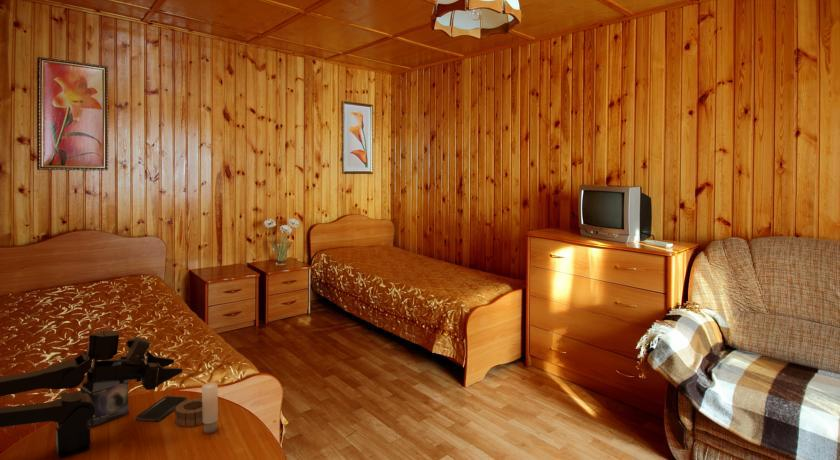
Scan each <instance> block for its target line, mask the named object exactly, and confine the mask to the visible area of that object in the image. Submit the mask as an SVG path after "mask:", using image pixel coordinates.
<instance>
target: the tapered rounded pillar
mask: <svg viewBox="0 0 840 460" xmlns="http://www.w3.org/2000/svg"><path fill="white" fill-rule="evenodd" d="M218 389H219V388H218V383H215V382H209V383H208V382H207V383H204V384H202V386H201V399H202V422H203V423H204V424H203V432H204V433H205V434H213V433H215V432H216V431H217V430H218V429H217V426H218V425H217V421H218V420H219V403H218V402H219V400H218V399H219V398H218V397H219V396H218V391H219V390H218Z"/></svg>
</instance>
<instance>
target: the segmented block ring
mask: <svg viewBox="0 0 840 460" xmlns="http://www.w3.org/2000/svg"><path fill="white" fill-rule="evenodd" d="M174 412H175V424H176V425H177V426H179V427H184V428H185V427H186V428H189V427H195V426H196V427H197V426H200V425H204V423H203V422H202V397H201V398H192V399H187V401H184V402H182V403H180V404H178V405H177V406H176V408H175V411H174Z"/></svg>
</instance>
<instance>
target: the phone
mask: <svg viewBox="0 0 840 460" xmlns="http://www.w3.org/2000/svg"><path fill="white" fill-rule="evenodd" d="M187 400H188V396H187V397H186V396H174V395H173V396H171V395H167V396H164V397H162V398H161V399H159V400H158V401H156V402H155V403H153V404H151V405H150V406H149V407H148V408H147V409H145V410H144V411H142V412H141V413H139V414H137V415H136V416H135V420H136V421H137V422H150V423H151V422H152V423H160V422H162V421H163V420H165V419H166V418H167V417H169V415H171V414H172V413H174V412H175V408H176V406H177V405H178V404H180V403H182V402H184V401H187Z"/></svg>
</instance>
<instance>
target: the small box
mask: <svg viewBox="0 0 840 460" xmlns="http://www.w3.org/2000/svg"><path fill="white" fill-rule="evenodd" d="M79 391H80V393H86V394H88V395H89V396H90V397H91V398H92V401H93V404H94V408H95V411H94V414H93V416H92V417H91V418H90V419H89V420H88V421H87V426H88V427H89V428H94V427H97V426H99V425H102V424H104V423H107V422H110V421H112V420H115V419H118V418H122V417H124V416H127V415H129V414H130V412H129V411H130V409H129V405H130V404H129V380H128V381H124V383H121V384H119V382H118V381H116V382H104V383H94V386H93V391H92V392H89V390H88V389H87V388H85V387H83V386H80V387H79Z"/></svg>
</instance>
